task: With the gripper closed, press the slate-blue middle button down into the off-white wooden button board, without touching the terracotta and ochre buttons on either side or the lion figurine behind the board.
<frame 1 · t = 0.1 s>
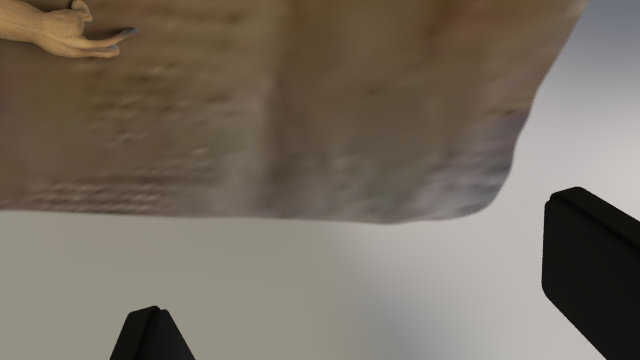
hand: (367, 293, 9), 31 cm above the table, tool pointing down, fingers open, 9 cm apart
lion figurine: (43, 23, 33), on the table
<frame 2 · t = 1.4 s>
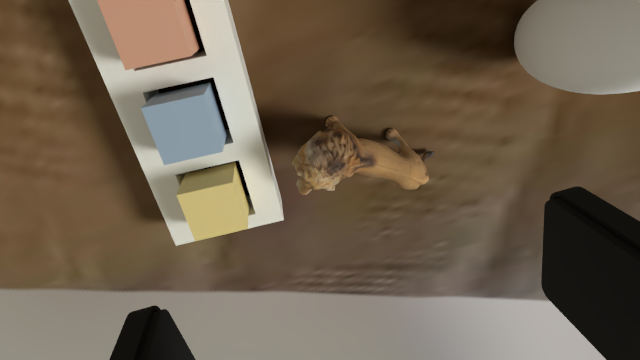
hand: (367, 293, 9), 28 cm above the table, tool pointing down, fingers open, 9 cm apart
terracotta button: (153, 25, 26), point 5 cm above the table, slide at 0.0 cm
ochre button: (215, 200, 33), point 5 cm above the table, slide at 0.0 cm
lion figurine: (356, 145, 38), on the table
button board: (197, 105, 34), on the table
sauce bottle: (530, 31, 36), on the table
blue button: (187, 122, 30), point 5 cm above the table, slide at 0.0 cm
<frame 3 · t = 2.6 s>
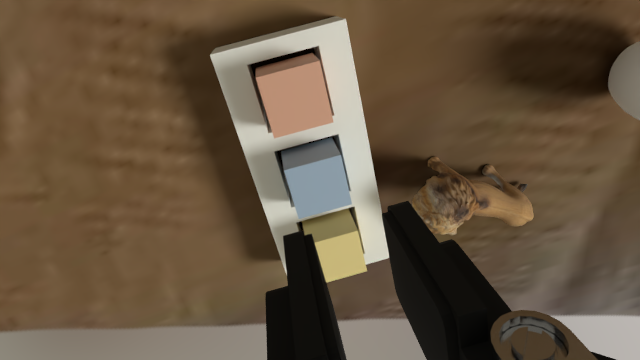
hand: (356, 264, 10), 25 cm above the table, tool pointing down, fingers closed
terracotta button: (293, 94, 28), point 5 cm above the table, slide at 0.0 cm
ochre button: (333, 244, 35), point 5 cm above the table, slide at 0.0 cm
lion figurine: (453, 181, 40), on the table
button board: (308, 154, 36), on the table
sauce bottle: (620, 68, 37), on the table
blue button: (315, 177, 32), point 5 cm above the table, slide at 0.0 cm
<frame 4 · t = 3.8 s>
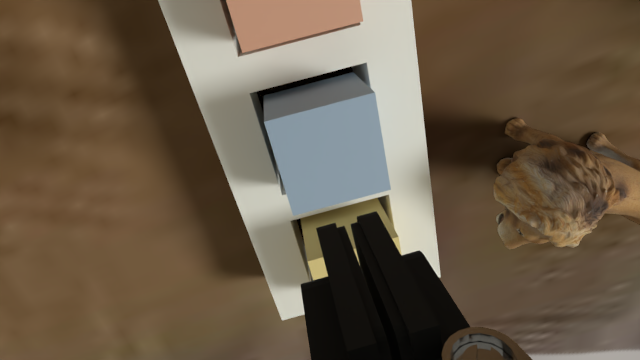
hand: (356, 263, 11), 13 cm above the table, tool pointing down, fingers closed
ochre button: (352, 258, 21), point 5 cm above the table, slide at 0.0 cm
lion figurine: (539, 159, 26), on the table
button board: (312, 109, 22), on the table
blue button: (324, 140, 18), point 5 cm above the table, slide at 0.0 cm
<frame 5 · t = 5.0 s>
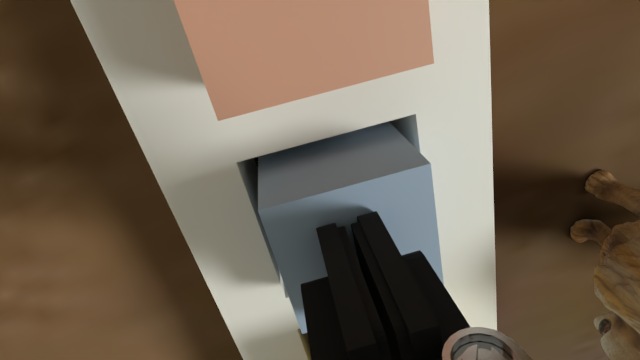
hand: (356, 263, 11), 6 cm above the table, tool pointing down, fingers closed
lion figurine: (623, 218, 20), on the table
button board: (325, 165, 16), on the table
blue button: (345, 218, 12), point 4 cm above the table, slide at 0.8 cm, touching gripper
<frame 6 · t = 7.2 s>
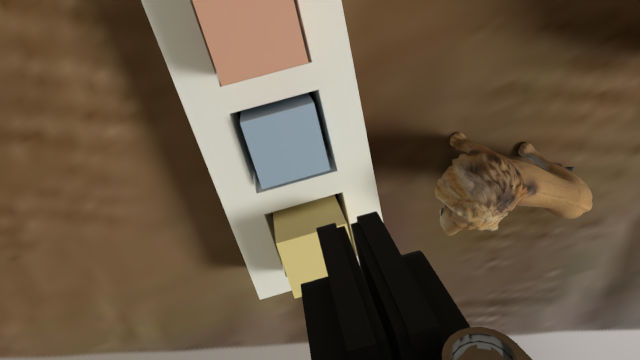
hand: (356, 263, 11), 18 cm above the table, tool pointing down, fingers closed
terracotta button: (251, 25, 20), point 5 cm above the table, slide at 0.0 cm
ochre button: (315, 244, 26), point 5 cm above the table, slide at 0.0 cm
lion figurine: (481, 165, 32), on the table
button board: (281, 125, 27), on the table
blue button: (284, 137, 25), point 3 cm above the table, slide at 2.3 cm
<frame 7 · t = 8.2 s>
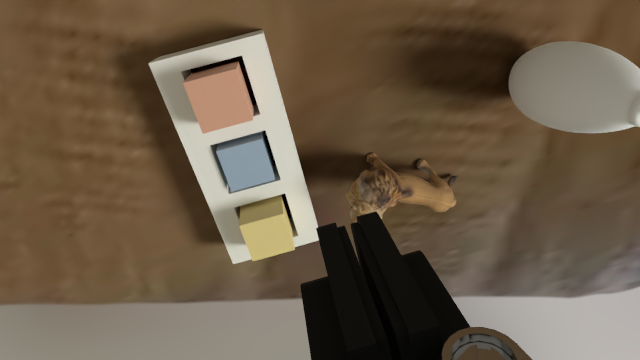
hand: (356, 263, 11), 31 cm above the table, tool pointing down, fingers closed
terracotta button: (221, 96, 34), point 5 cm above the table, slide at 0.0 cm
ochre button: (267, 227, 40), point 5 cm above the table, slide at 0.0 cm
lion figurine: (391, 174, 45), on the table
button board: (247, 148, 41), on the table
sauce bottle: (522, 73, 42), on the table
blue button: (246, 158, 39), point 3 cm above the table, slide at 2.3 cm
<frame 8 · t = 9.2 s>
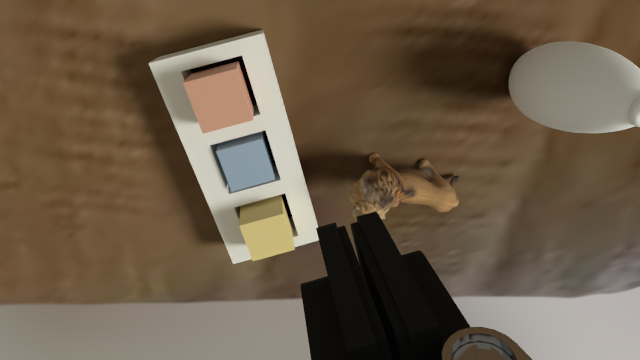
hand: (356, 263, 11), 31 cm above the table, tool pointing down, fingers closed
terracotta button: (221, 96, 34), point 5 cm above the table, slide at 0.0 cm
ochre button: (267, 227, 40), point 5 cm above the table, slide at 0.0 cm
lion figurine: (394, 174, 46), on the table
button board: (247, 148, 41), on the table
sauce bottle: (522, 73, 42), on the table
blue button: (246, 158, 39), point 3 cm above the table, slide at 2.3 cm
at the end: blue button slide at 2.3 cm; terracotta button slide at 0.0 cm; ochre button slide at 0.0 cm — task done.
